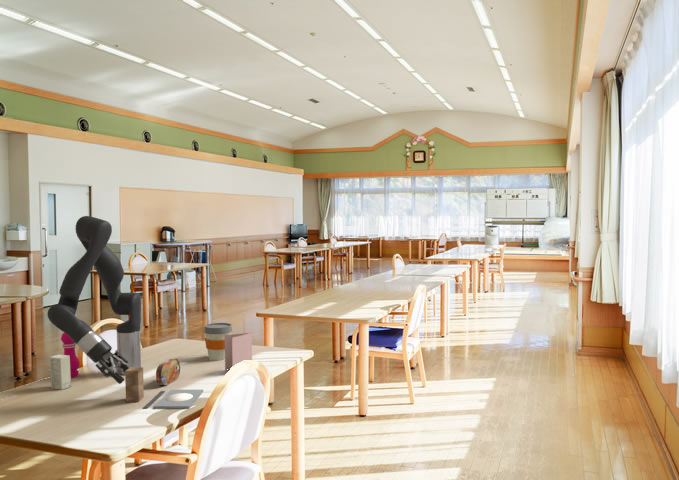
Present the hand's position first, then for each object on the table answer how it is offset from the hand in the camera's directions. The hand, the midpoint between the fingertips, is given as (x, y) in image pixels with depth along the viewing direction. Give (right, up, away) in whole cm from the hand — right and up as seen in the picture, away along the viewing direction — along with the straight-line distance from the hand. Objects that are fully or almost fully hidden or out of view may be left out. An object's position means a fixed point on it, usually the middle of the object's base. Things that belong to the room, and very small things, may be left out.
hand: (127, 378), depth 197 cm
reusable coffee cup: (+20, -5, +58) cm, 62 cm away
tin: (+8, -7, +21) cm, 24 cm away
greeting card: (+33, -6, +37) cm, 50 cm away
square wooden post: (+3, -8, 0) cm, 8 cm away
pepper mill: (-35, -7, +30) cm, 47 cm away
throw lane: (+17, -8, 0) cm, 18 cm away
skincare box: (-31, -7, +15) cm, 35 cm away
